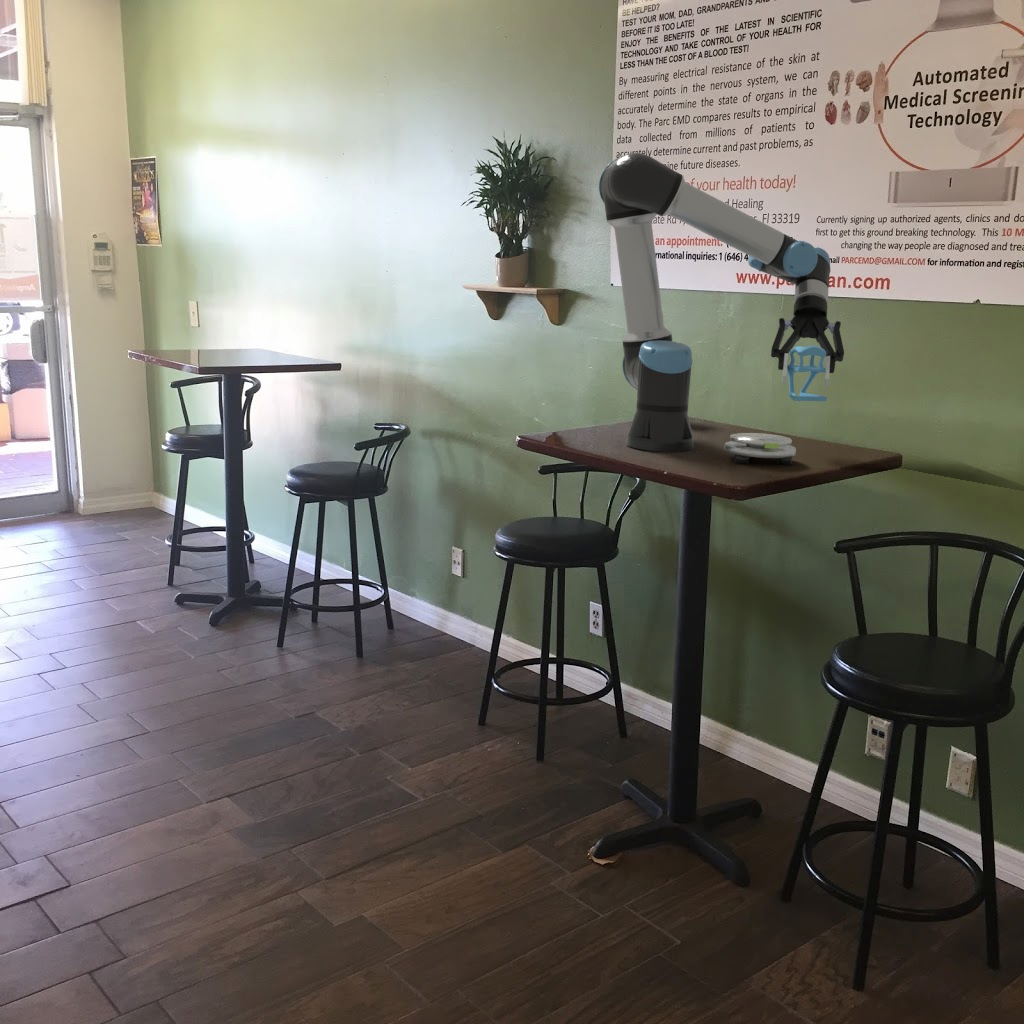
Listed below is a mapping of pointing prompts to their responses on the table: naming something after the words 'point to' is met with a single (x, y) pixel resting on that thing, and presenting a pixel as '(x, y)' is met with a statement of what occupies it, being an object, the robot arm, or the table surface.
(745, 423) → the table surface
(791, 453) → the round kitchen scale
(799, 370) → the chair
